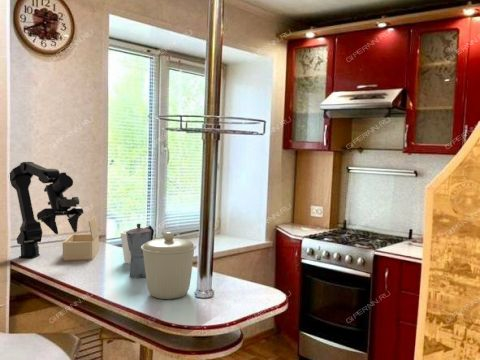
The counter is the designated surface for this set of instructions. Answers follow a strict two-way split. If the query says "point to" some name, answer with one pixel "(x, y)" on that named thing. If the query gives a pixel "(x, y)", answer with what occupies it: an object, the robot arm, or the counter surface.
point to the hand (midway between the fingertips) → (66, 233)
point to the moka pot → (138, 249)
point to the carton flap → (93, 227)
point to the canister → (168, 266)
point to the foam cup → (125, 247)
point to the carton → (80, 247)
